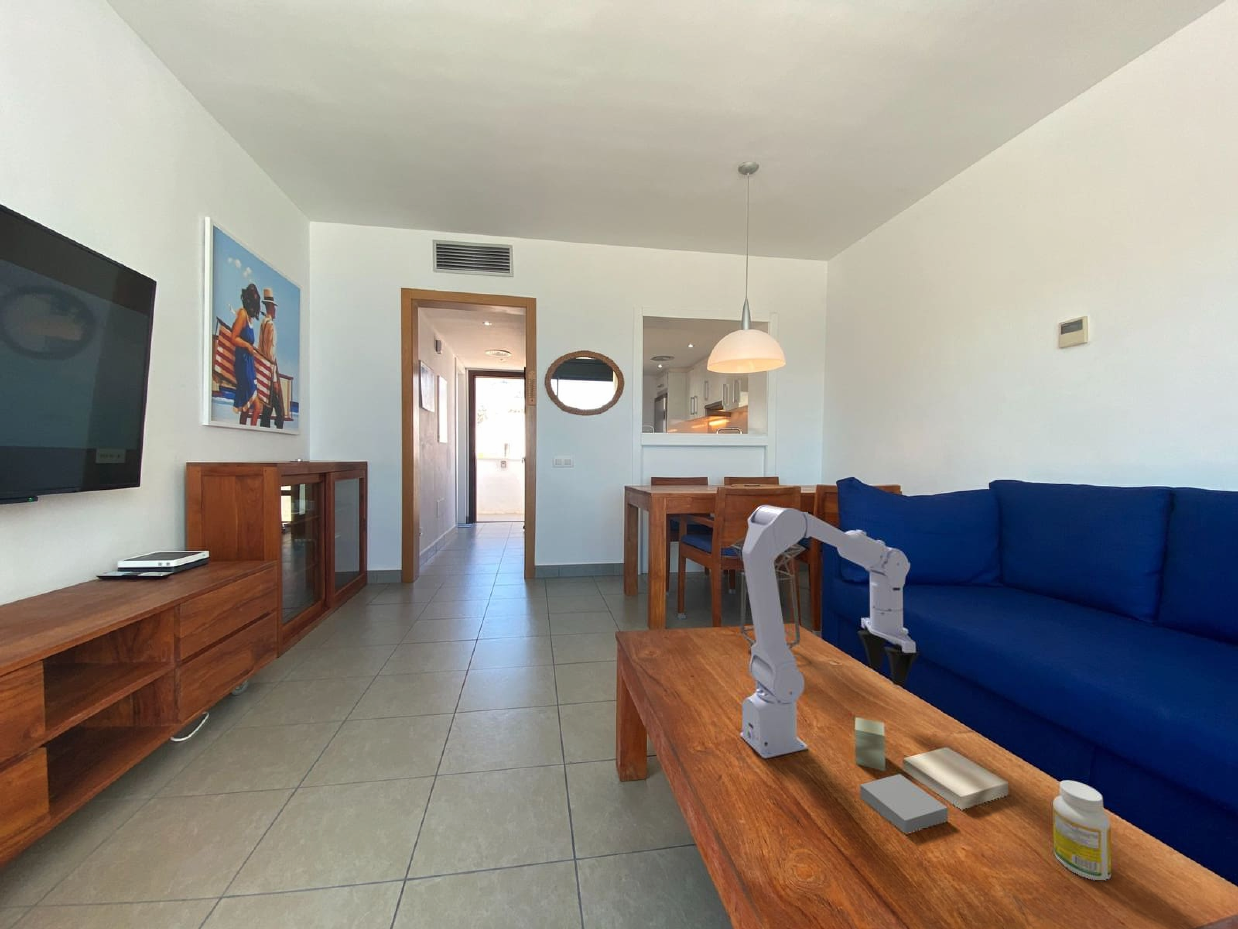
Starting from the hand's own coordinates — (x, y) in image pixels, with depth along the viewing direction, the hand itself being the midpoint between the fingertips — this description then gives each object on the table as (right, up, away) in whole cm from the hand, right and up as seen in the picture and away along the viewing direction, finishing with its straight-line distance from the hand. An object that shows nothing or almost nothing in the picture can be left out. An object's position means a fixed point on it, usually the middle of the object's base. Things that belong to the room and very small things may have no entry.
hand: (886, 675), depth 95 cm
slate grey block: (-11, -10, -23) cm, 27 cm away
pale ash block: (+1, -10, -17) cm, 20 cm away
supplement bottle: (+6, -10, -34) cm, 36 cm away
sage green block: (-9, -10, -11) cm, 18 cm away
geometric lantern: (-12, -10, +37) cm, 40 cm away
